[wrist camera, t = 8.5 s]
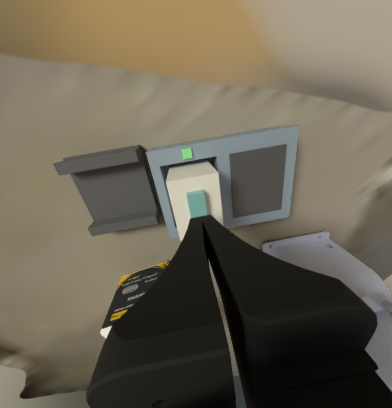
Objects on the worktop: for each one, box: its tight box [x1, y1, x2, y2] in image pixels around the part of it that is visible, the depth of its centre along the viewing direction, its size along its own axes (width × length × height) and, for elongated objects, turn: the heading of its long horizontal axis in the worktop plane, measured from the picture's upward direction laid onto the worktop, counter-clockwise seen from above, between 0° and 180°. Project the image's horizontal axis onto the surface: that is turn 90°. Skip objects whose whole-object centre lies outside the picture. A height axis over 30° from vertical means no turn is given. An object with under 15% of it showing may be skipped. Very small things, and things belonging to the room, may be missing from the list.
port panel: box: [146, 125, 300, 240], centre depth 16 cm, size 13×9×3 cm
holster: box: [53, 145, 160, 236], centre depth 16 cm, size 7×8×2 cm
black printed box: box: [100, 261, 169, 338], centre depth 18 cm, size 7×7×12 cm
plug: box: [166, 158, 224, 241], centre depth 14 cm, size 4×5×7 cm
